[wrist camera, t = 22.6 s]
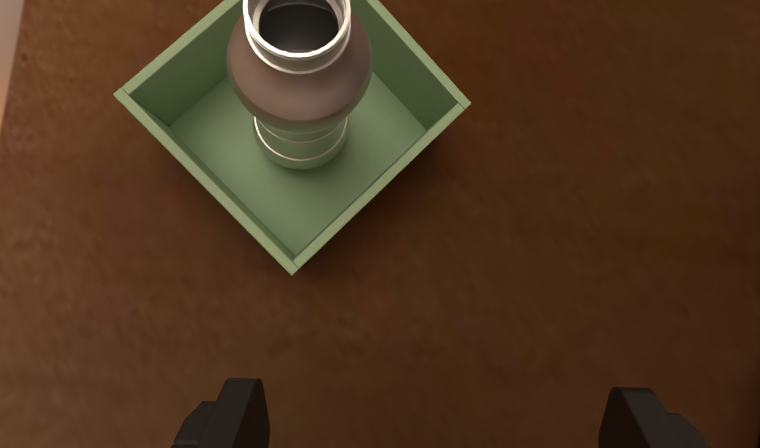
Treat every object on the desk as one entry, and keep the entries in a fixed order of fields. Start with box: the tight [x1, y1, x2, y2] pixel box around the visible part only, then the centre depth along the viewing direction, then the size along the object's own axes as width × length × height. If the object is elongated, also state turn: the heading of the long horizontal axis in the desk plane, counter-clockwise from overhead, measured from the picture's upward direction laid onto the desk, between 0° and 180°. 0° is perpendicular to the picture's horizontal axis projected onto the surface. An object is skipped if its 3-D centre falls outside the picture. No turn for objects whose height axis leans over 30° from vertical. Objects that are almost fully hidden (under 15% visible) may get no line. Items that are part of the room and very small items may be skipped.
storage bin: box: [113, 0, 471, 275], centre depth 33 cm, size 15×14×9 cm
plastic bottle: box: [226, 0, 373, 170], centre depth 27 cm, size 6×7×20 cm
